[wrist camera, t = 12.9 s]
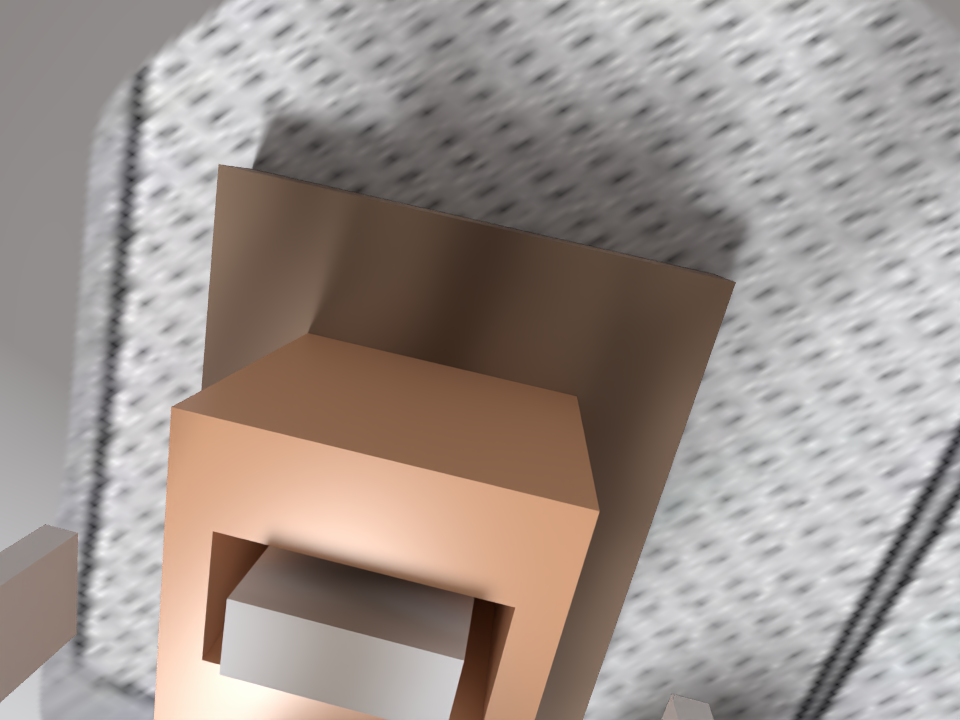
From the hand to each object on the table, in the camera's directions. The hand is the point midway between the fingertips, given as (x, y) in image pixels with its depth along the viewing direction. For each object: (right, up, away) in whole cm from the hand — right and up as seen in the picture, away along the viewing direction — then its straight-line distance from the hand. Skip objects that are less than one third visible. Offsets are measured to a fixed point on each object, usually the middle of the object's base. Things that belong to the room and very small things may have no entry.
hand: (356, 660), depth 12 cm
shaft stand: (+1, +3, +9) cm, 10 cm away
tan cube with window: (0, +2, +7) cm, 8 cm away
